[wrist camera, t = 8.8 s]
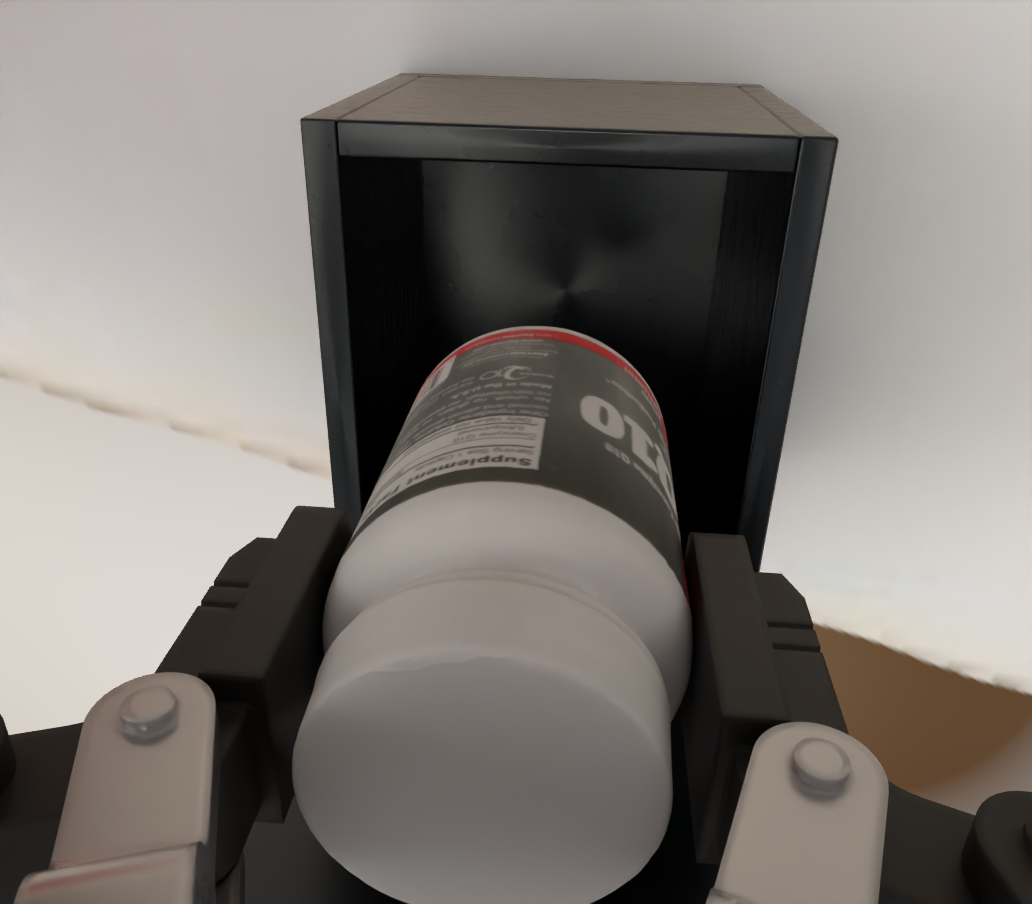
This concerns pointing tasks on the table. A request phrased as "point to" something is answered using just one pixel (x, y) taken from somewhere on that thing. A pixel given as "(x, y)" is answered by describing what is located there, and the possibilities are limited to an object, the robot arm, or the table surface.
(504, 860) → the pill bottle
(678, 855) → the drawer with gold handle
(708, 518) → the black hollow box
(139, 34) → the table surface
